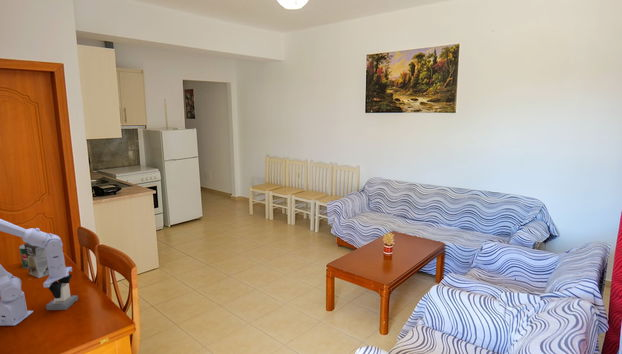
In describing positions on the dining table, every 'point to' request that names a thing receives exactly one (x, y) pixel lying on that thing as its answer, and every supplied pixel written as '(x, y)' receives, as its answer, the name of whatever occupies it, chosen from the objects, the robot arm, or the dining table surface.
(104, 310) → the dining table surface
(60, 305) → the gray base
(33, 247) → the coffee box
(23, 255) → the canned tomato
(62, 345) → the dining table surface
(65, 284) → the cream block
